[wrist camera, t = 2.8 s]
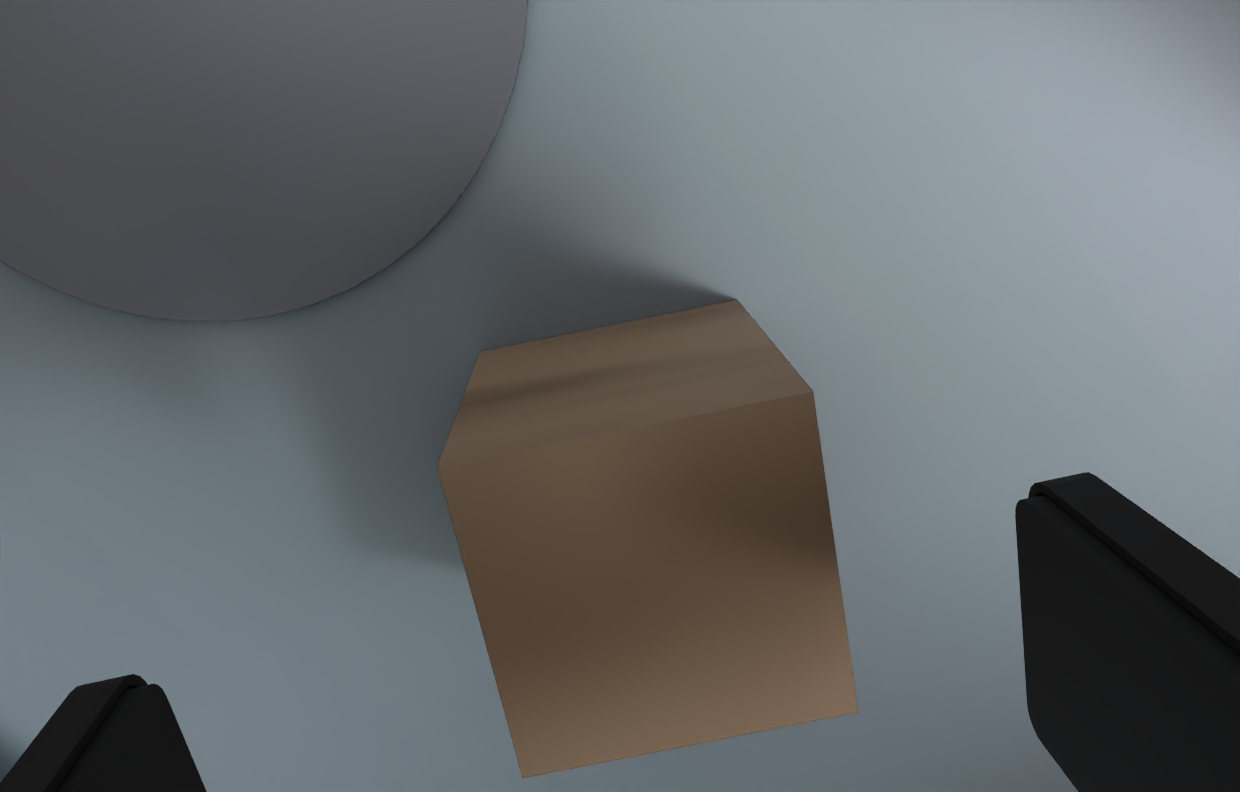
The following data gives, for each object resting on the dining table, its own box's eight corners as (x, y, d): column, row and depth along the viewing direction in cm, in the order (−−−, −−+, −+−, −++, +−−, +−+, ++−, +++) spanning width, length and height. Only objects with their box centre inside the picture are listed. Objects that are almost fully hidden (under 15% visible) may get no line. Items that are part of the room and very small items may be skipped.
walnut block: (774, 532, 20) (857, 712, 14) (537, 580, 20) (522, 778, 14) (736, 298, 18) (813, 391, 12) (479, 350, 18) (437, 467, 12)
